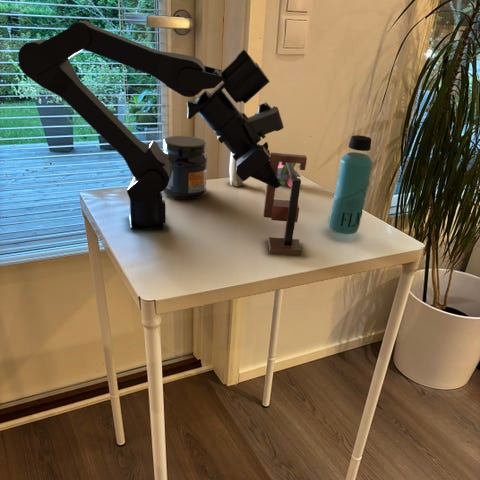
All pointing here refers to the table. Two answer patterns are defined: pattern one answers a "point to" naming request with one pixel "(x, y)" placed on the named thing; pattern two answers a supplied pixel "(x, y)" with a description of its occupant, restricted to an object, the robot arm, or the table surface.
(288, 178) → the geometric puzzle
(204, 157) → the supplement container
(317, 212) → the table surface
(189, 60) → the robot arm
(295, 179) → the rack
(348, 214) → the beverage bottle
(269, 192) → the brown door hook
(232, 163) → the handle
